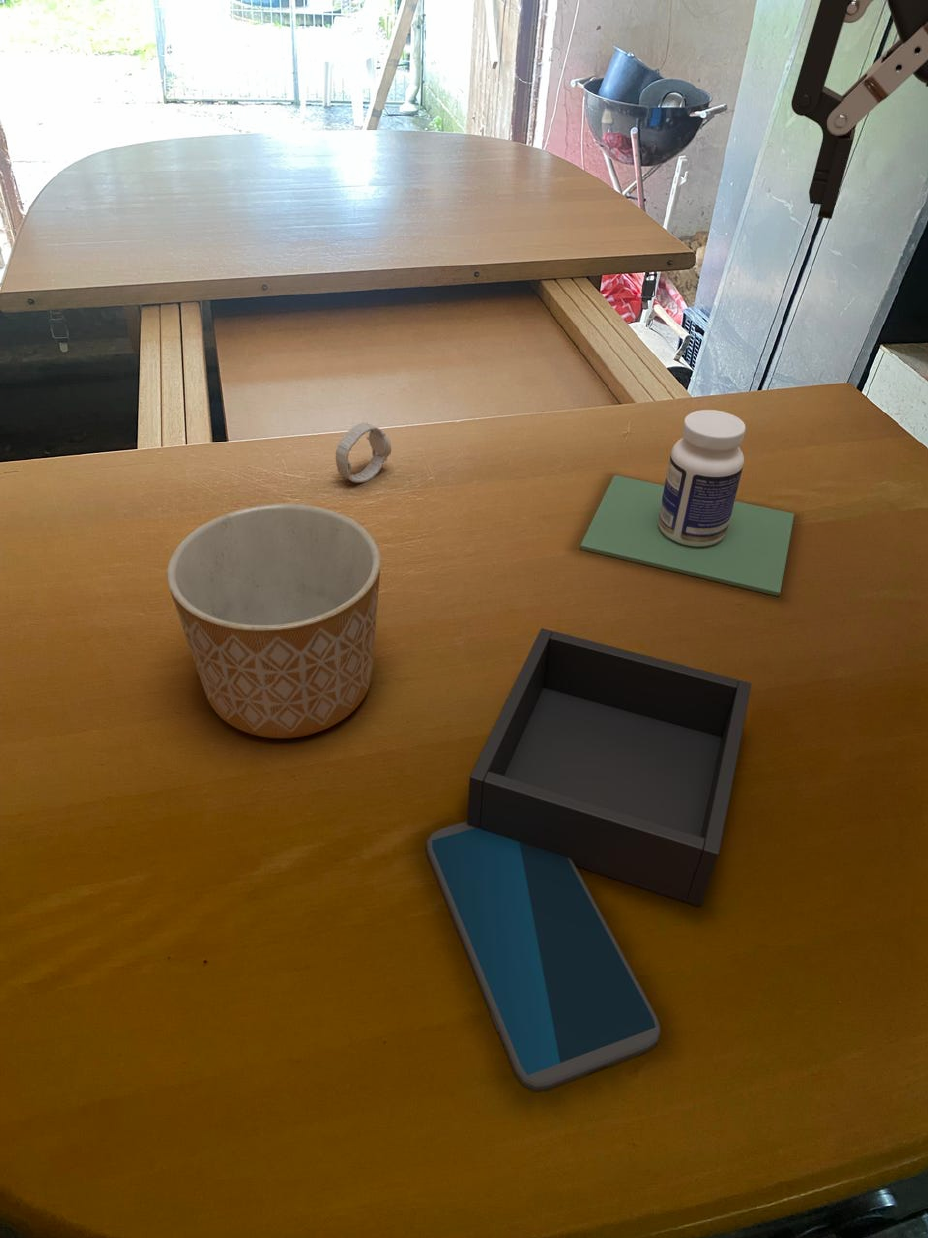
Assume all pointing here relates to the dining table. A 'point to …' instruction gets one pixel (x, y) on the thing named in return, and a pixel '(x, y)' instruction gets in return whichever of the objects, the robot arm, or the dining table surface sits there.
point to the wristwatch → (378, 445)
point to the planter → (279, 615)
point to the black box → (614, 763)
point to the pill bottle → (702, 478)
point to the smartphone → (541, 957)
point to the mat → (737, 559)
